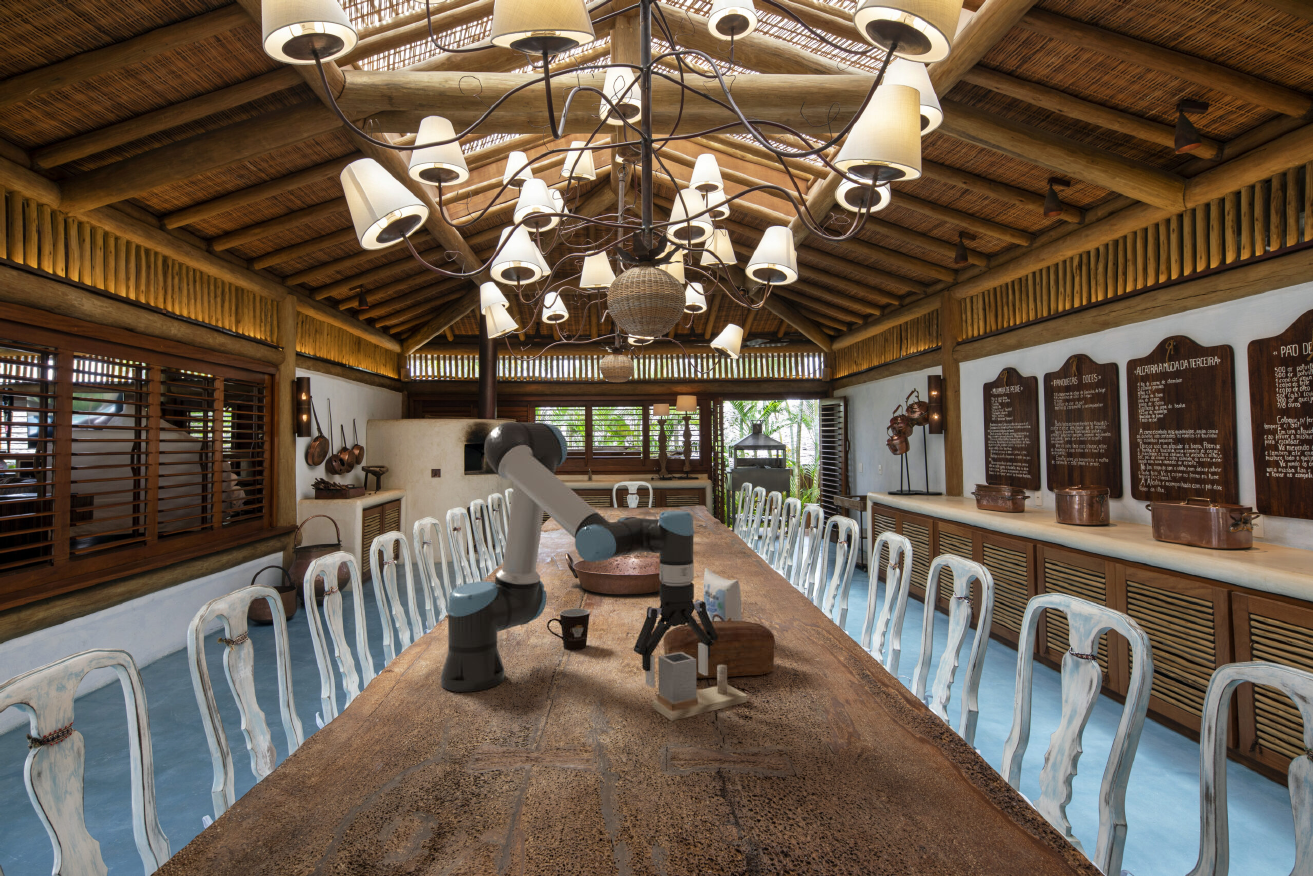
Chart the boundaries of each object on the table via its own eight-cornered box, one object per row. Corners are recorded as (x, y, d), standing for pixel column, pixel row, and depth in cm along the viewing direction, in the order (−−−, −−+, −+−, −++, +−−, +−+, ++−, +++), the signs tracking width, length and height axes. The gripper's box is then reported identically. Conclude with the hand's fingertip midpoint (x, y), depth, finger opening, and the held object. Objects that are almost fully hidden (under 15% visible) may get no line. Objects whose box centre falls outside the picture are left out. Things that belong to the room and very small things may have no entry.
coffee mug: (592, 642, 192) (592, 608, 192) (586, 652, 183) (586, 616, 183) (553, 642, 193) (553, 608, 193) (546, 651, 184) (545, 615, 184)
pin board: (671, 721, 137) (671, 685, 137) (652, 707, 144) (652, 673, 144) (747, 701, 147) (746, 668, 147) (726, 690, 154) (725, 658, 154)
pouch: (720, 630, 203) (720, 566, 203) (749, 648, 185) (749, 578, 185) (697, 633, 200) (696, 568, 201) (724, 652, 183) (723, 580, 183)
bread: (781, 678, 162) (780, 628, 162) (670, 685, 158) (669, 635, 158) (763, 660, 176) (763, 614, 176) (660, 666, 171) (660, 619, 172)
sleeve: (672, 711, 138) (672, 664, 138) (657, 701, 144) (657, 656, 144) (697, 705, 141) (697, 659, 142) (682, 695, 147) (681, 651, 147)
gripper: (634, 592, 133) (635, 696, 133) (733, 579, 146) (733, 674, 146) (618, 585, 140) (618, 684, 140) (713, 573, 152) (714, 664, 152)
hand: (677, 679), depth 143 cm, fingers open, 13 cm apart
